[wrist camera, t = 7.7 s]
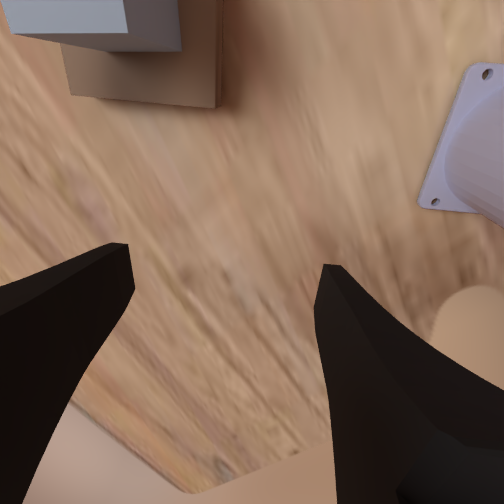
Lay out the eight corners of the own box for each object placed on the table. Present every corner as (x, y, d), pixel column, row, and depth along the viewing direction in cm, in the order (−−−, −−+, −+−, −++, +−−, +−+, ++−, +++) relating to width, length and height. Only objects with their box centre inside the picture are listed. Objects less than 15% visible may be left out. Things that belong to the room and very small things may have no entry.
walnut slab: (227, -82, 14) (217, -112, 12) (222, 105, 18) (214, 108, 16) (63, -94, 14) (24, -126, 12) (95, 93, 18) (70, 95, 16)
